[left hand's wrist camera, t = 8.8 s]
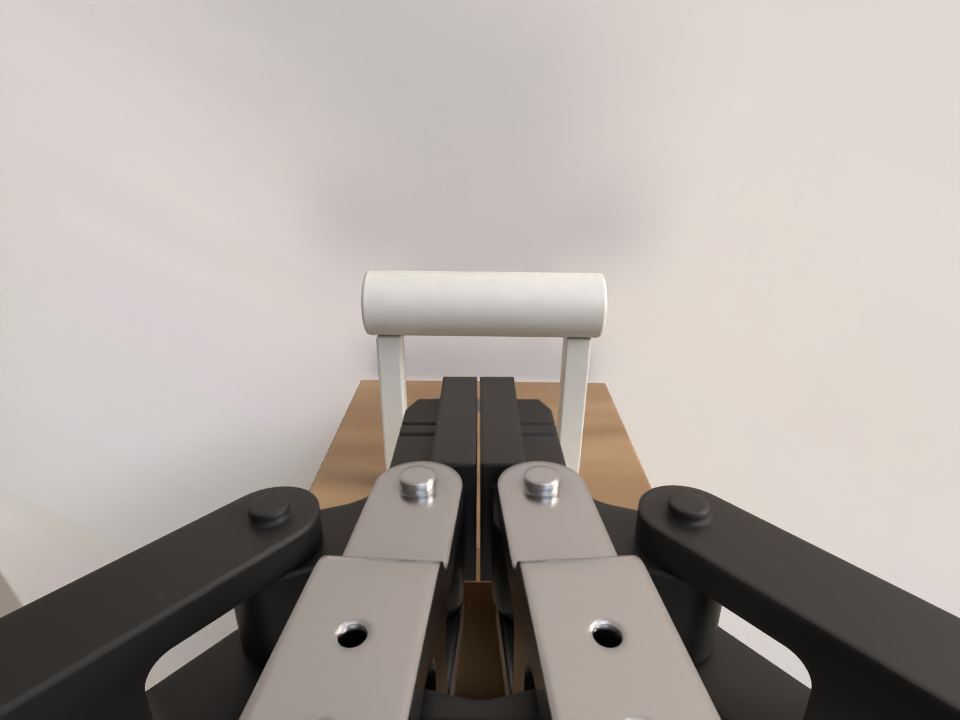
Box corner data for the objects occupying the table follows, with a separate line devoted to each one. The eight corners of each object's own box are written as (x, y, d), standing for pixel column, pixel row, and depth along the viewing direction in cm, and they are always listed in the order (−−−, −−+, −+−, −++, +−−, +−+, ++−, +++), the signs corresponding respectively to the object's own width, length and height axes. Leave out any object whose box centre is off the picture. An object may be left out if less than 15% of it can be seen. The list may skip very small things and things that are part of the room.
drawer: (347, 221, 19) (243, 302, 11) (622, 224, 19) (724, 307, 11) (385, 682, 28) (344, 915, 20) (573, 685, 28) (608, 920, 20)
